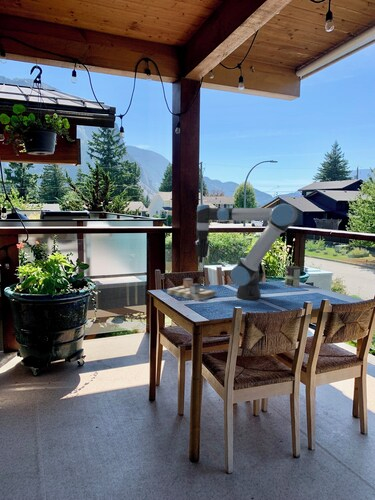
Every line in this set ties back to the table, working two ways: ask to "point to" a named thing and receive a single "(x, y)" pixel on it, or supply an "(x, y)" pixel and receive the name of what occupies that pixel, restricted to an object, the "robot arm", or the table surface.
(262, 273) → the dark grey cylinder
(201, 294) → the tan muffin tray
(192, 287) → the fader grey
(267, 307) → the table surface
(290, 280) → the coffee can
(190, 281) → the fader terracotta
